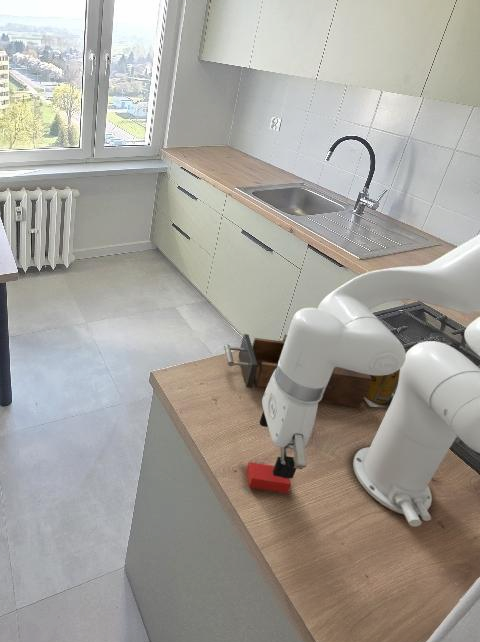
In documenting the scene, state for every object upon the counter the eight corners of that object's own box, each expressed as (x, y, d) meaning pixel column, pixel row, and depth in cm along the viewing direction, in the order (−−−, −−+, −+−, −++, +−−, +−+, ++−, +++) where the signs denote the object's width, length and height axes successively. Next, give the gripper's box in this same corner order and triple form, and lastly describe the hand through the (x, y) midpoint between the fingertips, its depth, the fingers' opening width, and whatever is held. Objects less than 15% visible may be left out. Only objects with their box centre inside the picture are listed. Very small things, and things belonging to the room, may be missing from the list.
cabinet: (289, 398, 97) (299, 369, 93) (276, 362, 108) (284, 334, 104) (359, 408, 96) (372, 378, 92) (339, 370, 106) (349, 342, 102)
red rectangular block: (283, 476, 80) (286, 467, 79) (287, 493, 77) (291, 484, 76) (245, 470, 81) (248, 461, 80) (249, 487, 78) (251, 478, 77)
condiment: (351, 382, 103) (367, 344, 98) (385, 383, 103) (402, 346, 98) (369, 407, 96) (386, 368, 91) (405, 408, 96) (424, 369, 91)
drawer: (225, 385, 99) (231, 361, 96) (219, 353, 108) (224, 331, 105) (310, 396, 97) (318, 373, 94) (296, 363, 106) (303, 341, 103)
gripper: (264, 339, 76) (244, 406, 83) (292, 420, 61) (264, 494, 68) (306, 345, 76) (282, 412, 83) (345, 428, 60) (312, 502, 67)
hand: (274, 449), depth 75 cm, fingers open, 9 cm apart
